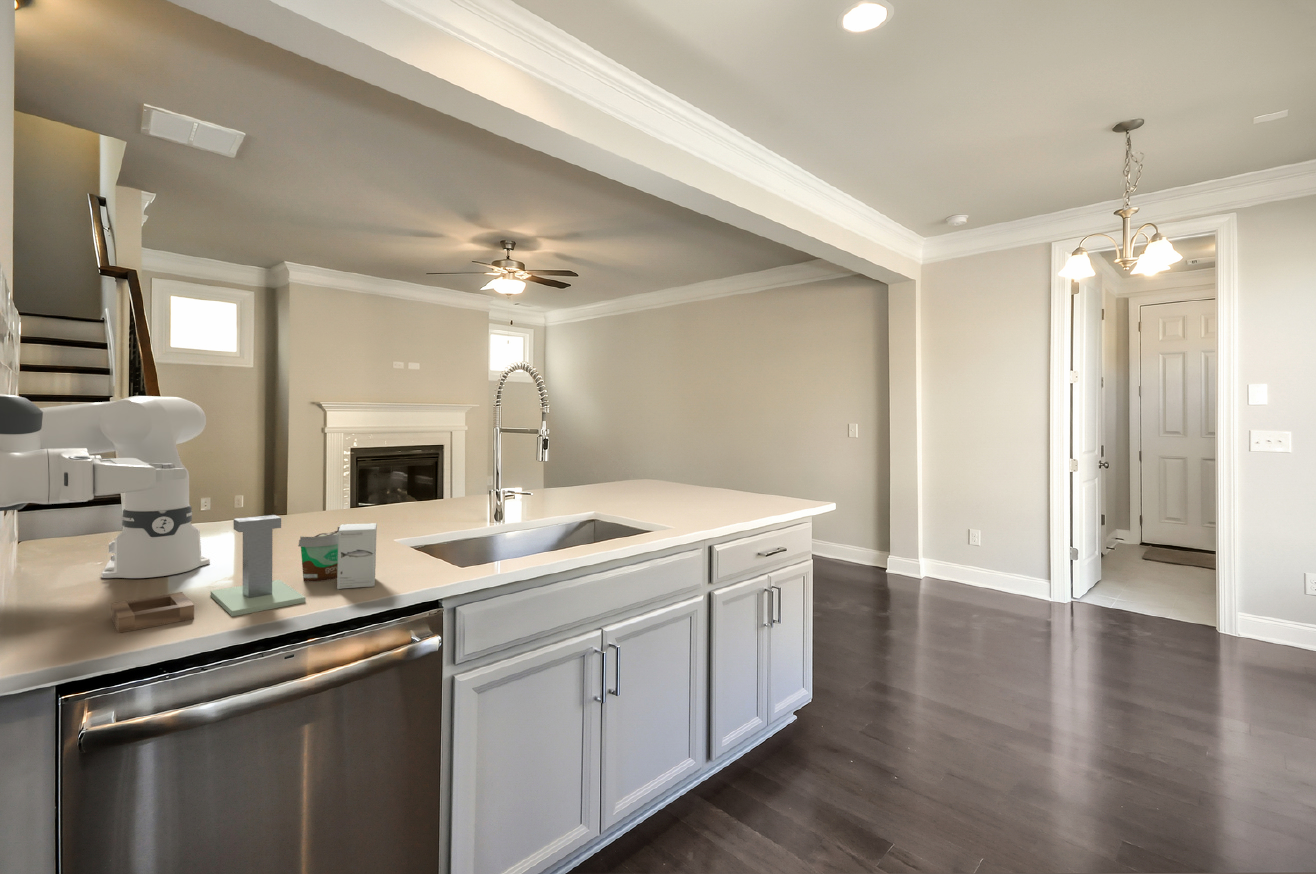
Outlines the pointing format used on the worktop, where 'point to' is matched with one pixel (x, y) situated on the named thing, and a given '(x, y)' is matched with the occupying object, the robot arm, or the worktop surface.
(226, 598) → the green mat
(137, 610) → the socket block
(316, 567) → the food container
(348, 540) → the supplement box
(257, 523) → the t-key
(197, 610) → the worktop surface
